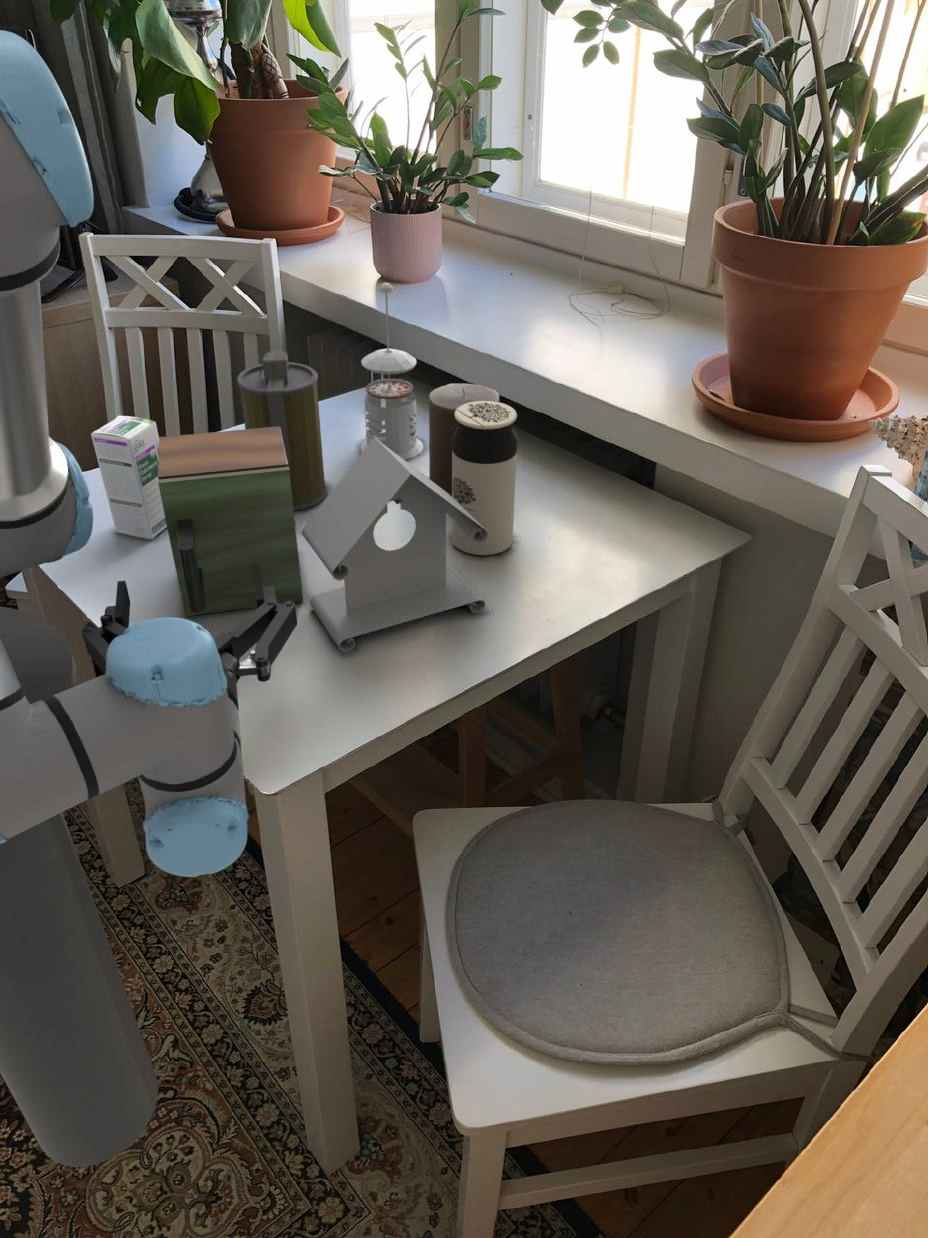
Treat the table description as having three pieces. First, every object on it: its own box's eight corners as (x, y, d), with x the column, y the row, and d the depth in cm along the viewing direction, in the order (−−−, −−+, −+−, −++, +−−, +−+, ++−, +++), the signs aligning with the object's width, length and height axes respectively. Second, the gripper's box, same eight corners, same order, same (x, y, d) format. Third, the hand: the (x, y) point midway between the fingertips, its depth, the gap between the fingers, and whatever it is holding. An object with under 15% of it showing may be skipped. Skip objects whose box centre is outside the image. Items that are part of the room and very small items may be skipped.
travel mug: (494, 520, 126) (499, 395, 115) (523, 548, 120) (531, 419, 110) (441, 533, 123) (441, 405, 112) (468, 563, 117) (471, 431, 107)
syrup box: (152, 541, 121) (130, 438, 112) (114, 532, 122) (89, 430, 114) (177, 520, 125) (157, 419, 116) (139, 512, 127) (117, 413, 118)
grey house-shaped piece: (339, 653, 102) (325, 492, 90) (309, 609, 109) (293, 453, 97) (485, 610, 109) (490, 455, 97) (449, 571, 116) (450, 421, 104)
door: (309, 632, 105) (295, 497, 95) (185, 649, 102) (157, 512, 92) (302, 597, 110) (288, 466, 100) (185, 612, 108) (158, 479, 97)
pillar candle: (450, 508, 129) (451, 406, 120) (417, 479, 135) (415, 381, 127) (509, 491, 133) (514, 392, 124) (474, 464, 139) (476, 368, 131)
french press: (370, 465, 139) (361, 296, 124) (349, 434, 148) (339, 272, 133) (432, 455, 142) (430, 289, 127) (408, 425, 150) (404, 266, 136)
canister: (255, 477, 135) (237, 343, 123) (327, 475, 136) (316, 341, 124) (250, 515, 126) (230, 374, 115) (326, 511, 127) (315, 371, 116)
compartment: (302, 597, 111) (288, 464, 100) (185, 612, 108) (157, 476, 98) (294, 553, 119) (279, 426, 108) (184, 566, 116) (159, 436, 105)
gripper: (53, 770, 80) (74, 628, 97) (340, 726, 85) (313, 597, 102) (30, 705, 76) (57, 567, 93) (334, 662, 81) (307, 539, 98)
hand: (191, 583), depth 97 cm, fingers open, 13 cm apart
